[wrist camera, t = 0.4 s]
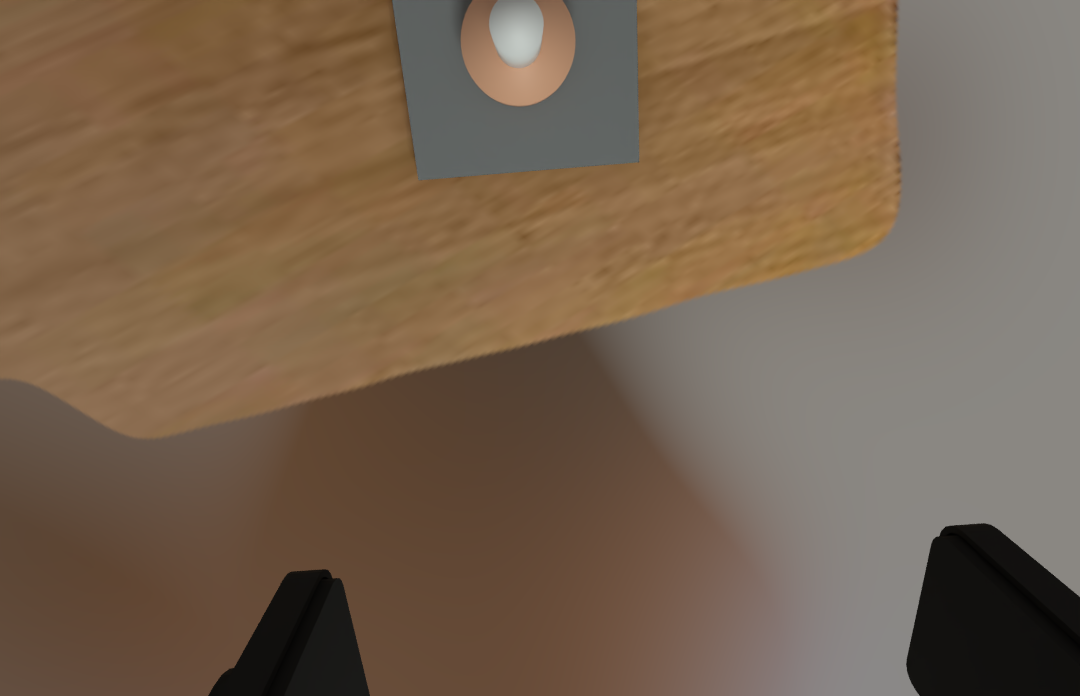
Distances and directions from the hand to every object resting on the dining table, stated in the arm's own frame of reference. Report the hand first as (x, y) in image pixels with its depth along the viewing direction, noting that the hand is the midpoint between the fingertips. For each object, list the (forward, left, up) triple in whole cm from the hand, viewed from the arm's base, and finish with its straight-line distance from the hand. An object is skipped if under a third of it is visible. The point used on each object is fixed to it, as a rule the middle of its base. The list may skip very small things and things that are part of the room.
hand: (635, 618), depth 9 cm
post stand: (-12, -1, -29) cm, 32 cm away
